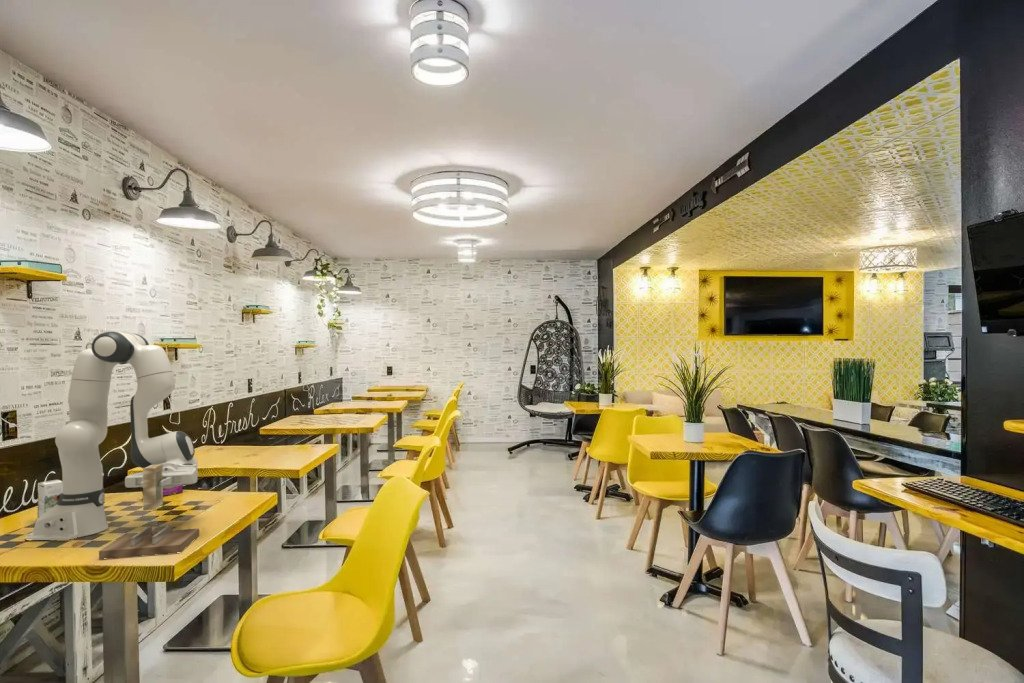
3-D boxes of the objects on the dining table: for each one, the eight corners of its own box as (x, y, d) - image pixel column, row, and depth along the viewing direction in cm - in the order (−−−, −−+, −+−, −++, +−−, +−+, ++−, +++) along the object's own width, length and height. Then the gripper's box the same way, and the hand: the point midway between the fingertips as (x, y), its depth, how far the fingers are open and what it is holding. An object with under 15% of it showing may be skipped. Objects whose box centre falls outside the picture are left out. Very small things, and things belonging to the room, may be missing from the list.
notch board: (98, 559, 162) (98, 542, 162) (125, 541, 178) (125, 526, 178) (179, 553, 167) (179, 536, 167) (199, 535, 182) (199, 520, 182)
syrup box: (56, 517, 206) (56, 479, 207) (63, 519, 203) (63, 480, 204) (37, 521, 202) (37, 482, 202) (44, 523, 199) (44, 484, 199)
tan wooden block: (143, 510, 170) (142, 468, 170) (151, 505, 176) (151, 464, 176) (154, 509, 170) (154, 468, 171) (162, 504, 176) (162, 464, 177)
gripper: (136, 467, 184) (115, 476, 170) (202, 463, 188) (186, 472, 174) (136, 485, 184) (115, 496, 170) (202, 482, 188) (186, 492, 174)
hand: (151, 484), depth 172 cm, fingers closed on tan wooden block, 3 cm apart
